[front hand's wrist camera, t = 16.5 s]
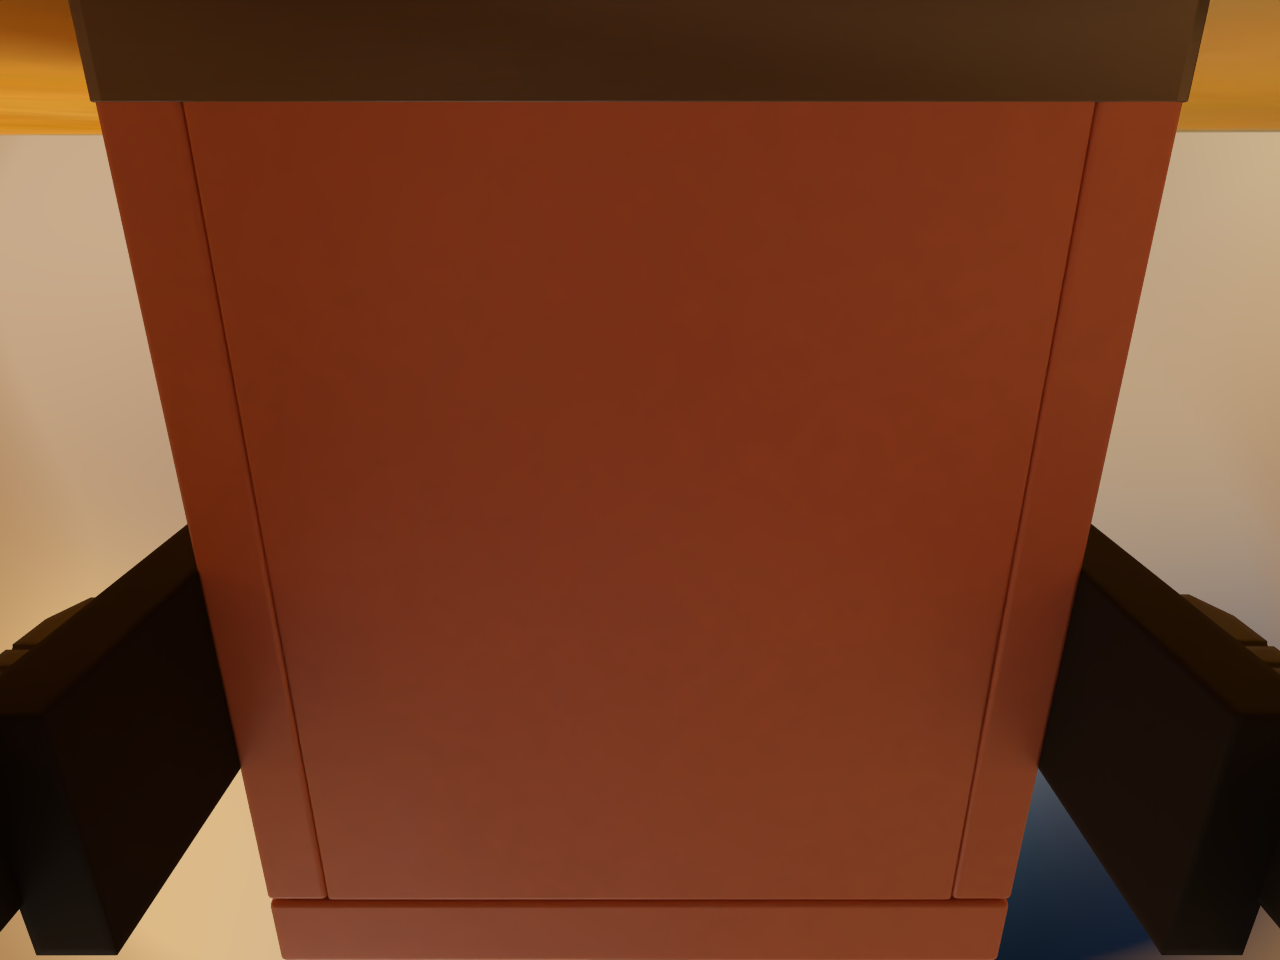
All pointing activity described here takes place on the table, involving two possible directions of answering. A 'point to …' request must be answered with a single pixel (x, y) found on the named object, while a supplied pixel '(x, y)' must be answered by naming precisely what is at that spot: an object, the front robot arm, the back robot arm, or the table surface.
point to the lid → (639, 929)
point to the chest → (639, 417)
